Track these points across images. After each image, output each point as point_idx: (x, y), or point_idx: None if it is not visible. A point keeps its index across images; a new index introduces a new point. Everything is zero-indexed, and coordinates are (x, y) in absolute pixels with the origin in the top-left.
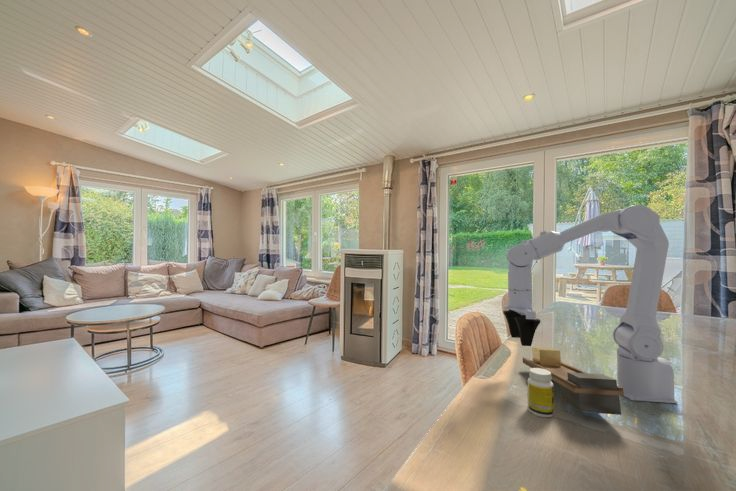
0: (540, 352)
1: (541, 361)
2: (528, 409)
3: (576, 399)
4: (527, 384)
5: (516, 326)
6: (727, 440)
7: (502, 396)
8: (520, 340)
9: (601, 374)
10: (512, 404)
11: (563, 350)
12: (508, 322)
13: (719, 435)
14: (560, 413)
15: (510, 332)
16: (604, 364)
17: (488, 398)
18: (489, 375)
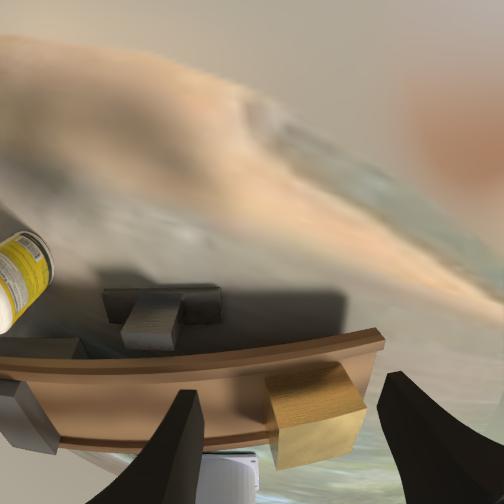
0: (275, 422)
1: (267, 394)
2: (22, 231)
3: (2, 351)
4: (213, 288)
5: (410, 451)
6: (93, 463)
7: (83, 169)
8: (189, 407)
9: (49, 452)
10: (42, 192)
11: (475, 419)
12: (450, 437)
13: (103, 465)
14: (45, 305)
15: (410, 388)
16: (384, 466)
17: (59, 119)
18: (290, 155)
